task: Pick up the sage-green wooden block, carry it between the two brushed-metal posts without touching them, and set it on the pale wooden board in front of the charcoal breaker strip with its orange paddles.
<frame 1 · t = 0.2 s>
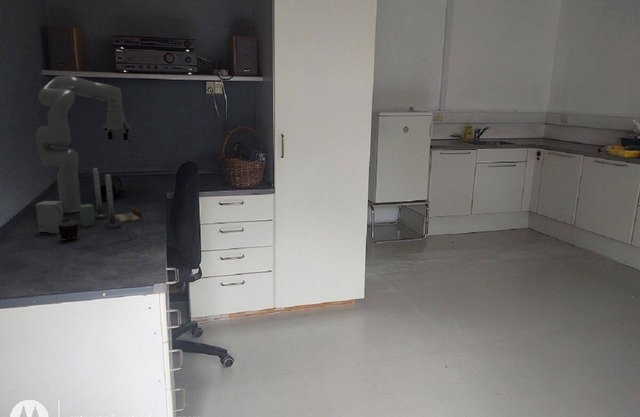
hand: (118, 139, 279), 31 cm above the worktop, tool pointing down, fingers open, 9 cm apart
far post: (100, 217, 233), on the worktop
small box: (52, 231, 210), on the worktop
green block: (88, 224, 221), on the worktop
near post: (112, 226, 218), on the worktop
breaker board: (128, 218, 232), on the worktop
mate gourd: (68, 239, 200), on the worktop
muzzle brake: (111, 196, 277), on the worktop
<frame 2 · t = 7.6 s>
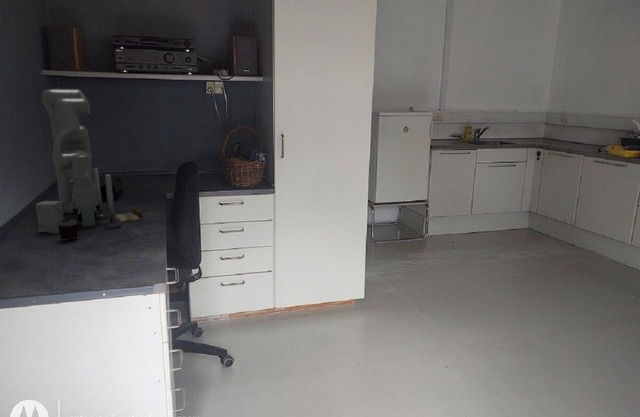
hand: (87, 220, 220), 2 cm above the worktop, tool pointing down, fingers closed on green block, 5 cm apart
green block: (88, 224, 221), on the worktop, touching gripper
everything else where it was.
when the fingers open (4 cm above the worktop, at t = 14.6 s): green block drops 1 cm, resting on breaker board.
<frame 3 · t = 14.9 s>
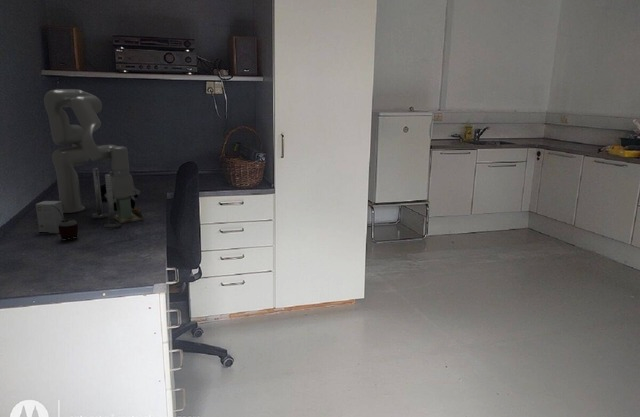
hand: (124, 209, 229), 5 cm above the worktop, tool pointing down, fingers open, 7 cm apart
green block: (124, 216, 231), point 1 cm above the worktop, touching breaker board
everything else where it was.
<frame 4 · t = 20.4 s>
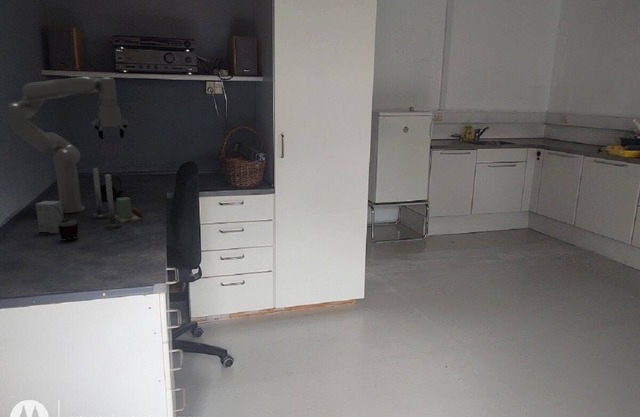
hand: (111, 138, 240), 36 cm above the worktop, tool pointing down, fingers open, 9 cm apart
nothing on the worktop moved.
at the end: green block inside the target area on the breaker board (0.8 cm from its centre), point 1.0 cm above the breaker board's base; far post moved 0.0 cm from its start; near post moved 0.0 cm from its start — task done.
